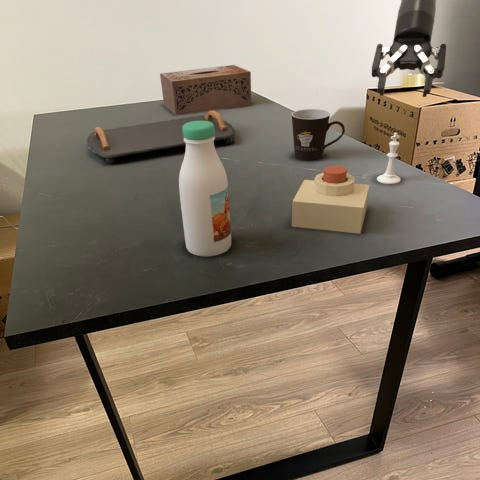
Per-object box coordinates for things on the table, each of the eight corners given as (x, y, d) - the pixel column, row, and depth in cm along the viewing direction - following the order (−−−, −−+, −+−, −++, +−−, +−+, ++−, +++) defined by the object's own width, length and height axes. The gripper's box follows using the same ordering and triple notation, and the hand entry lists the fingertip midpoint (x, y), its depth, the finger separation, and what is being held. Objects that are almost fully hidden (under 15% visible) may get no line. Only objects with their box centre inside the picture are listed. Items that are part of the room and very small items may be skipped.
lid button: (347, 177, 84) (348, 166, 83) (344, 186, 81) (345, 174, 80) (325, 175, 85) (326, 164, 84) (321, 184, 82) (322, 172, 81)
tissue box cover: (235, 96, 165) (233, 64, 159) (251, 105, 154) (250, 71, 148) (164, 106, 158) (159, 73, 152) (176, 116, 147) (171, 81, 141)
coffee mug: (282, 158, 113) (283, 114, 107) (306, 149, 117) (308, 107, 111) (320, 170, 106) (323, 123, 100) (344, 160, 110) (348, 115, 104)
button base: (366, 210, 88) (371, 174, 84) (360, 235, 81) (365, 197, 76) (303, 204, 92) (305, 169, 87) (291, 228, 84) (292, 190, 80)
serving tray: (214, 123, 139) (213, 101, 135) (246, 144, 122) (245, 119, 118) (82, 144, 128) (76, 120, 124) (96, 170, 111) (90, 144, 107)
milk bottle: (199, 263, 75) (186, 135, 63) (178, 244, 81) (162, 123, 68) (240, 249, 78) (234, 124, 66) (217, 232, 84) (208, 113, 71)
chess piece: (371, 179, 100) (378, 131, 94) (392, 176, 101) (399, 127, 95) (384, 187, 96) (391, 137, 90) (405, 184, 98) (414, 134, 91)
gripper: (380, 9, 97) (368, 82, 95) (454, 7, 93) (442, 83, 91) (379, 35, 104) (367, 103, 102) (448, 35, 100) (436, 105, 99)
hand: (403, 94), depth 97 cm, fingers open, 8 cm apart
